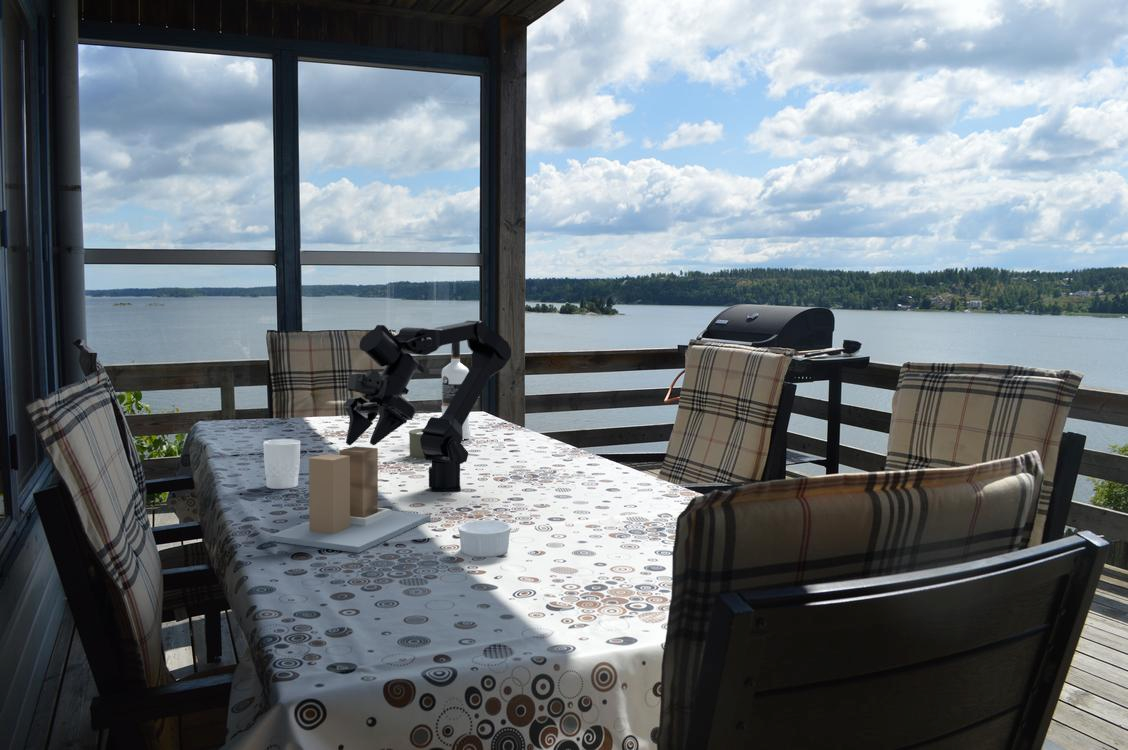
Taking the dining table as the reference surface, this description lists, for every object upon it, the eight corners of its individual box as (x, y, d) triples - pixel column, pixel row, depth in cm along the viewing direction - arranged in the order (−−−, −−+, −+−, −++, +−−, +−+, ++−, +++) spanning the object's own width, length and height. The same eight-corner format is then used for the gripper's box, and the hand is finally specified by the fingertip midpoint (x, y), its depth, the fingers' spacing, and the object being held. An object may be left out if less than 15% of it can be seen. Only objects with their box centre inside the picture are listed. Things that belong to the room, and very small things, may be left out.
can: (462, 455, 239) (462, 430, 238) (434, 462, 229) (434, 436, 228) (428, 451, 245) (428, 426, 245) (399, 457, 235) (399, 431, 235)
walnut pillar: (355, 513, 168) (354, 446, 167) (377, 516, 166) (377, 448, 165) (339, 519, 163) (339, 450, 162) (362, 522, 161) (362, 452, 160)
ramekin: (489, 562, 142) (490, 535, 141) (447, 553, 146) (447, 527, 146) (521, 549, 149) (521, 524, 149) (479, 541, 154) (479, 517, 154)
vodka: (475, 439, 267) (476, 340, 264) (448, 442, 261) (449, 341, 259) (461, 435, 274) (461, 339, 272) (434, 437, 269) (434, 339, 266)
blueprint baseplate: (350, 511, 174) (350, 441, 173) (430, 520, 168) (430, 447, 166) (269, 540, 151) (268, 460, 150) (358, 552, 145) (358, 469, 144)
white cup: (266, 491, 191) (266, 445, 190) (261, 484, 198) (260, 440, 197) (303, 488, 194) (303, 443, 194) (297, 481, 201) (296, 438, 201)
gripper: (342, 360, 184) (305, 424, 178) (390, 353, 171) (352, 422, 164) (381, 389, 190) (347, 451, 184) (431, 385, 177) (396, 452, 170)
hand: (359, 444), depth 175 cm, fingers open, 9 cm apart
